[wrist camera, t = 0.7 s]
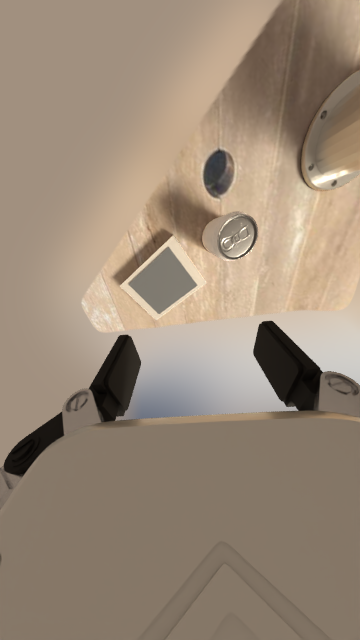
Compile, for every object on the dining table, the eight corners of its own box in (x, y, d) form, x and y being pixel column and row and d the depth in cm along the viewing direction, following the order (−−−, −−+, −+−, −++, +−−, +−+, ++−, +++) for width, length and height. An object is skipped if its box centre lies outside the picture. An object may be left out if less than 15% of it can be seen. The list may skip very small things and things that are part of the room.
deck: (173, 234, 30) (173, 235, 27) (204, 279, 35) (207, 283, 32) (123, 282, 35) (119, 286, 32) (157, 315, 40) (155, 321, 37)
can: (196, 231, 29) (206, 230, 19) (224, 210, 28) (252, 196, 17) (210, 259, 32) (225, 271, 22) (236, 241, 30) (266, 246, 20)
